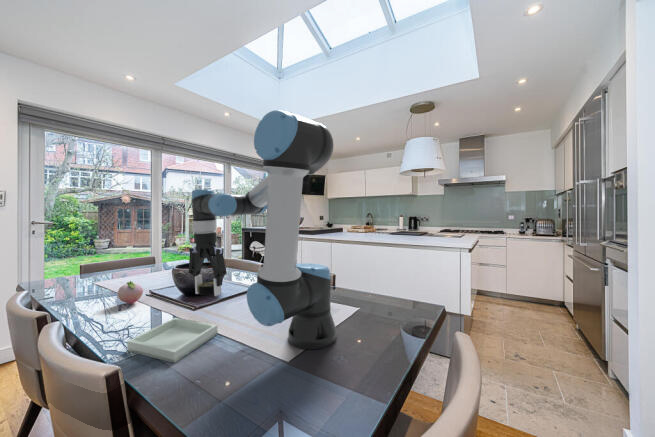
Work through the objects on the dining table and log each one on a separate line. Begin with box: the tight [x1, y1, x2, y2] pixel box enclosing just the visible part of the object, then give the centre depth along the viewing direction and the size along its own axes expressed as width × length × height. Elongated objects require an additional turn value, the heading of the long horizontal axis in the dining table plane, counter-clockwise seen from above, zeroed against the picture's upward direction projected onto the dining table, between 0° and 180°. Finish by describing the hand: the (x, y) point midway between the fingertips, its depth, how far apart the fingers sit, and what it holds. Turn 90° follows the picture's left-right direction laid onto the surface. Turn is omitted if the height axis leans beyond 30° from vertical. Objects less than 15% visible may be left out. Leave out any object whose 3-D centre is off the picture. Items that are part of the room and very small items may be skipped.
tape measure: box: [198, 281, 214, 296], centre depth 97 cm, size 7×7×4 cm
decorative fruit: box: [117, 280, 144, 305], centre depth 111 cm, size 9×8×10 cm
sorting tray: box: [126, 317, 219, 364], centre depth 81 cm, size 18×16×3 cm
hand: (208, 293), depth 97 cm, fingers closed on tape measure, 8 cm apart
